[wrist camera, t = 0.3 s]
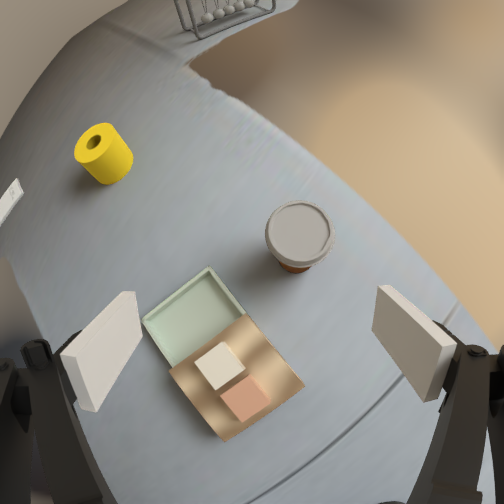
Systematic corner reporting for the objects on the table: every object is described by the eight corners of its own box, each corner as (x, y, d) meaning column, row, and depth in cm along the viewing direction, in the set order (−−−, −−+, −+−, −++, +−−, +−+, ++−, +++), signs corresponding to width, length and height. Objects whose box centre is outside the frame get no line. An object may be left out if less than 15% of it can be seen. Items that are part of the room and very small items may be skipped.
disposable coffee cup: (286, 293, 49) (289, 279, 37) (257, 245, 51) (251, 218, 40) (334, 264, 49) (350, 241, 38) (304, 218, 52) (310, 185, 40)
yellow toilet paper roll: (127, 182, 58) (106, 159, 49) (91, 186, 59) (68, 165, 50) (137, 144, 61) (120, 119, 52) (102, 150, 62) (82, 127, 53)
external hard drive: (-4, 211, 63) (19, 179, 64) (1, 227, 61) (25, 194, 62) (-8, 209, 61) (15, 177, 63) (-3, 225, 59) (21, 191, 61)
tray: (247, 314, 48) (246, 312, 46) (177, 366, 47) (172, 367, 44) (212, 268, 51) (209, 265, 48) (146, 320, 49) (140, 319, 47)
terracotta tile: (271, 399, 39) (270, 402, 37) (244, 418, 39) (242, 422, 36) (250, 373, 41) (248, 375, 38) (223, 392, 40) (219, 395, 38)
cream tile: (245, 368, 41) (243, 370, 39) (219, 387, 40) (215, 390, 38) (224, 341, 42) (221, 341, 40) (198, 361, 42) (194, 362, 39)
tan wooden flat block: (302, 381, 44) (305, 386, 39) (229, 432, 43) (224, 442, 38) (248, 315, 48) (245, 313, 43) (178, 368, 46) (168, 370, 42)
